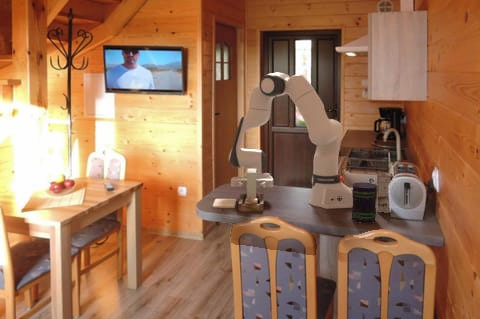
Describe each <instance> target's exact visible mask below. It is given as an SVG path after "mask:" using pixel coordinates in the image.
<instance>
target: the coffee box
mask: <svg viewBox="0 0 480 319" xmlns="http://www.w3.org/2000/svg"><path fill="white" fill-rule="evenodd" d="M376 176H377V177H376V185H377V199H376V213H381V212H384V214H386V213H387V214H390V213H389V199H388V185H389V183H390V181H391V180H392V178H393V177H394V175H393V174H392V173H390V172H388V173H387V172H383V173H382V172H380V173H379V172H378V173H377V175H376Z"/></svg>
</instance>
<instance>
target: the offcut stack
mask: <svg viewBox="0 0 480 319" xmlns="http://www.w3.org/2000/svg"><path fill="white" fill-rule="evenodd" d="M244 199H245V200H244V202H243V204H258V198H257V197H256V198H247V197H246V198H244Z"/></svg>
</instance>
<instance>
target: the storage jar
mask: <svg viewBox="0 0 480 319" xmlns="http://www.w3.org/2000/svg"><path fill="white" fill-rule="evenodd" d="M351 191H352V198H353V206H352V208H351V221H352V220H354V221H356V222H361V223H371V224H374V223H375V222H376V219H377V218H376V216H377V209H376V199H377V183H375V184H374V183H372V182H355V183H353V184H352V190H351ZM356 222H355V223H356ZM373 222H374V223H373ZM361 223H360V224H361Z"/></svg>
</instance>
